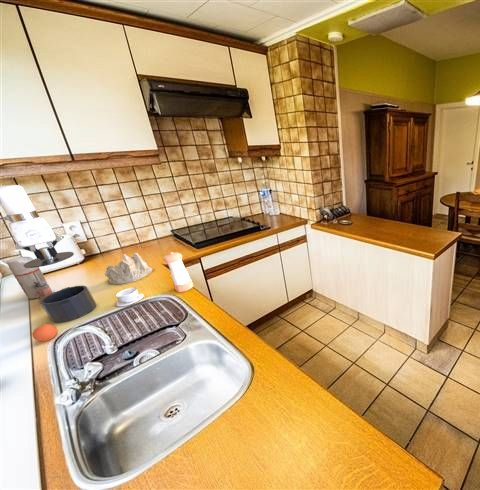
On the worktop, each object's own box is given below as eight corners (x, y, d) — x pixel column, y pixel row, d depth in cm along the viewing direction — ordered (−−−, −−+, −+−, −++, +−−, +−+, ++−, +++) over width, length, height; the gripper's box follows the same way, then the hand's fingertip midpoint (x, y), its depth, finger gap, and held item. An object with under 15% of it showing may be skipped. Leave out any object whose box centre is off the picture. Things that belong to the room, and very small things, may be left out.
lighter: (38, 299, 126) (26, 281, 122) (48, 295, 129) (36, 278, 125) (49, 302, 124) (37, 283, 120) (58, 298, 127) (47, 280, 123)
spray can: (34, 293, 132) (11, 257, 124) (56, 288, 135) (35, 253, 127) (23, 301, 125) (-3, 264, 117) (47, 296, 128) (23, 260, 120)
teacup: (145, 300, 120) (140, 291, 119) (116, 310, 115) (111, 301, 113) (143, 291, 128) (139, 283, 126) (116, 300, 122) (112, 292, 120)
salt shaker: (189, 282, 134) (176, 248, 126) (196, 286, 130) (183, 251, 122) (173, 289, 128) (158, 253, 121) (180, 293, 124) (165, 257, 117)
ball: (36, 347, 96) (27, 334, 93) (38, 339, 100) (29, 327, 97) (60, 338, 100) (52, 325, 97) (61, 331, 104) (53, 318, 101)
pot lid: (22, 273, 104) (13, 259, 102) (27, 262, 114) (18, 249, 112) (74, 259, 114) (67, 247, 111) (74, 251, 123) (68, 239, 121)
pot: (51, 330, 104) (38, 311, 100) (53, 311, 116) (41, 293, 113) (97, 313, 113) (87, 295, 109) (95, 297, 125) (85, 280, 121)
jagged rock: (157, 268, 150) (144, 244, 143) (131, 285, 135) (116, 259, 128) (134, 270, 152) (120, 246, 145) (105, 286, 137) (89, 261, 131)
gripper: (-11, 224, 98) (17, 267, 106) (53, 213, 109) (75, 253, 116) (-7, 220, 103) (20, 262, 110) (54, 210, 114) (75, 249, 121)
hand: (48, 257), depth 113 cm, fingers closed on pot lid, 3 cm apart
